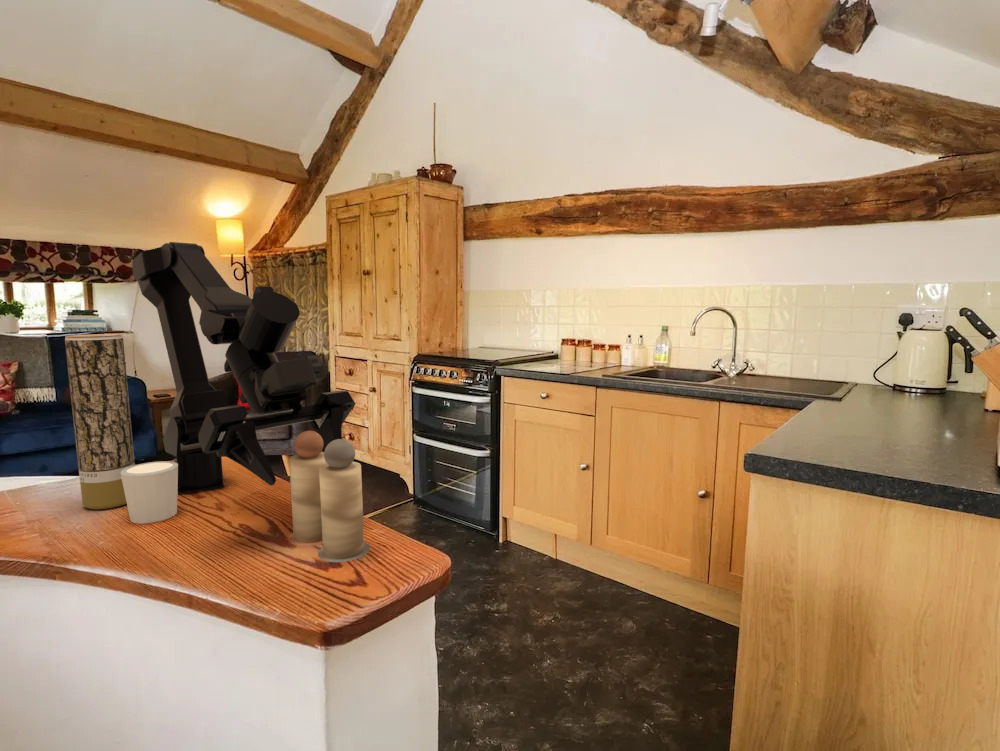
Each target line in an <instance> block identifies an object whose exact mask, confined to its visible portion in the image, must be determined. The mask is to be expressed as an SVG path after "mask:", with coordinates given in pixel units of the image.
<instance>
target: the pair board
mask: <svg viewBox="0 0 1000 751" xmlns="http://www.w3.org/2000/svg"><path fill="white" fill-rule="evenodd" d="M288 541H289V543H290V544H292V545H295V546H300V547H301V546H302V547H307V546H308V547H310V546H318V545H323V541H320V542H315V543H300V542H297V541H295V540H294V536H293V533H291V534H290V535H289V537H288ZM370 550H371V546H370V545H369V543H367V542H366V541H364V551H363V552H362V553H361V554H359V555H357V556H355V557H352V558H348V559H340V560H336V559H329V558H327V557H325V556H324V555H323V546H322V547H321V548H320V549H319V550H318V552H317V556H318V557H319V558H320V559H321V560H323V561H326V562H331V563H344V562H350V561H351V562H352V561H355V560H357V559H360V558H362V557H364V556H365V555H367V554H368V553H369V552H370Z"/></svg>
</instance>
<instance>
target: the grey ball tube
mask: <svg viewBox="0 0 1000 751" xmlns="http://www.w3.org/2000/svg"><path fill="white" fill-rule="evenodd" d="M323 452H324V458H325V461H326V463H327V464H325V465H322V466H321V467H320V468H319V478H320V499H321V519H322V540H323V544H322V547H323V555H324V556H325V557H327V558H329V559H336V560H340V559H348V558H352V557H355V556H357V555H359V554H361V553H362V552H363V551H364V542H365V535H364V534H365V533H364V532H365V530H364V509H363V508H364V506H363V481H362V480H363V479H362V465H361V463H359V462H357V461H354V460H355V457H356V450H355V447H354V446H353V444H352V443H351V442H350V441H349V440H347V439H343V438H342V439H336V440H334V441H332V442H330V443H329V444H328V445H327V447H326V448H325V449H324V451H323Z"/></svg>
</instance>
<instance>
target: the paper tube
mask: <svg viewBox="0 0 1000 751" xmlns="http://www.w3.org/2000/svg"><path fill="white" fill-rule="evenodd" d="M64 337H65V338H64V345H65V353H66V356H65V357H66V364H67V372H68V383H69V390H70V392H69V394H70V402H71V411H72V417H73V418H72V420H73V421H72V422H73V428H74V438H75V439H74V440H75V448H76V458H77V466H78V467H77V468H78V474H79V475H78V476H79V482H80V485H79V486H80V491H81V492H80V494H81V501H82V505H83V506H84V507H85V508H86V509H89V510H107V509H113V508H118V507H121V506H125V505H127V502H126V497H125V493H124V488H123V483H122V478H121V474H120V473H121V471H122V470H124V469H125V468H128V467H131V466H134V465H136V463H135V452H134V451H135V450H134V441H133V431H132V429H133V428H132V419H131V417H132V416H131V409H130V408H131V407H130V398H129V388H128V377H127V374H128V373H127V366H126V354H125V343H124V337H123V334H122V333H98V334H96V333H95V334H93V333H92V334H73V335H72V334H71V335H64Z"/></svg>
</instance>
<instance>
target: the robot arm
mask: <svg viewBox="0 0 1000 751" xmlns="http://www.w3.org/2000/svg"><path fill="white" fill-rule="evenodd" d="M131 265H132V274H133V275H132V276H133V278H134V280H136V281H137V282H138V287H139V289H140V293H141V295H142V296H143V297H144V298H145V299H147V301H148V302H150V303H151V304H152V305H153V306H154V307H155V308H156V310H157V314H158V318H159V322H160V327H161V331H162V334H163V335H162V336H163V340H164V344H165V349H166V352H167V355H168V360H169V365H170V368H171V374H172V378H173V381H174V385H175V391H176V394H175V397H174V398H173V401H172V404H171V406H170V409H169V420H168V423H167V426H166V428H165V432H164V435H163V438H162V442H163V447H164V451H165V453H167V454H169V455H172V456H174V457H176V458H174V459H173V460H172V462H175V463H178V490H177V495H182V494H189V493H195V492H196V493H197V492H204V491H209V490H217V489H223V488H225V486H226V484H225V479H224V474H223V461H222V460H223V459H222V458H223V457H226V458H228V459H230V460H231V461H233V462H234V463H237V464H239V465H240V466H242V467H244V468H245V469H246V470H248V471H249V472H251V473H252V474H254V475H255V476H256V477H257V478H259V479H260V480H262V481H263V482H265V483H266V484H267V485H268V486H270V487H271V486H275V483H276V482H277V478H276V475H275V474H274V470H273V467H272V466H271V464H270V462H269V460H268V458H267V457H266V454H265V453H264V450H263V449H262V446H261V444H260V442H259V440H258V438H257V431H258V430H259V431H260V430H265V429H273V428H279V427H280V428H281V427H284V426H285V427H286V426H291V425H295V424H300V423H306V422H309V424H310V425H311V426H312V429H315V430H317V431H316V432H317V433H318V434H319V435H320V436H321V437H322V439H323V443H324V445H323V449H324V450H325V448H326V447H327V445H328V444H329V443H330V442H332V441H334V440H336V439H343V434H342V432H343V431H342V427H343V423H344V422H345V421H346V419H347V418H348V417H349V414H350V413H351V412H352V410H353V408H354V407H355V405H356V402H355V400H354V398H353V396H352V395H351V393H350V392H349V390H343V389H341V390H335V391H330V392H321V393H320V394H319V396H318V397H317V399H316V401H315V403H314V404H312V405H304V406H303V405H302V404H301V402H302V401H305V400H306V398H307V397H308V396H309V394H308V392H307V389H308V388H310V387H312V386H315V385H317V384H318V382H320V381H322V380H324V378H326V376H327V374H328V373H327V368H326V366H325V362H324V361H323V359H322V358H321V356H320V355H319V354H311V355H306V356H305V358H300V359H289V360H288V359H286V360H281V361H279V359H278V357H277V356H276V354H275V353H278V352H280V351H282V350H283V349H284V347H285V346H286V344H287V341H288V340H289V338H290V335H291V333H292V331H293V329H294V327H295V326H296V323H297V321H298V319H299V317H300V314H301V313H300V308H299V305H298V304H297V302H295V301H293V300H292V299H290V298H289V297H287V296H286V295H284V294H282V293H279V292H276V291H275V290H274V289H273V287H272V286H262V285H260V286H259V285H256V287H255V288H254V292H253V294H252V298H251V297H250V296H249V295H246V294H244V293H241V292H238V291H236V290H233V289H232V288H231V287H230V285H229V284H228V283H227V282H226V281H225V279H224V278H223V277H222V275H221V274H220V273H219V272H218V270H217V269H216V268H215V267H214V266H213V264H212V262H211V261H210V260H209V259H208V258H207V257H206V253H205V250H204V247H203V246H202V245H200V244H199V245H198V244H197V243H190V242H178V241H177V242H175V241H169V242H168V243H167V242H165V243H164V244H162V245H161V246H160V247H155V248H151V249H148V250H144V251H141V252H139V254H137V256H136V257H134V259H133V260H132V264H131ZM191 297H192V299H193V301H194V302H195V304H196V305H197V306H198V308H199V309H200V317H199V322H198V324H199V327H200V330H201V332H202V335H203V336H204V337H205V338H206V340H207V341H208V342H209V343H210V344H212V345H229V346H228V347H227V349H226V352H225V356H224V357H225V362H224V364H223V369H224V372H225V373H233V376H234V378H235V380H236V382H237V384H238V386H239V388H240V390H241V393H240V395H239V401H240V403H241V404H243V405H241V404H238V405H237V404H235V405H228V400H227V395H226V393H225V392H224V391H223V390H222V389H218V390H217V389H216V388H215V387H214V386H213V385H211V384H210V380H209V377H208V373H207V368H206V364H205V360H204V357H203V352H202V348H201V344H200V340H199V336H198V332H197V327H196V324H195V319H194V315H193V311H192V307H191V303H190V298H191ZM245 404H248V407H249V409H250V411H251V413H250V414H248V413H249V412H248V411H247V409H246V406H244V405H245Z"/></svg>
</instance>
